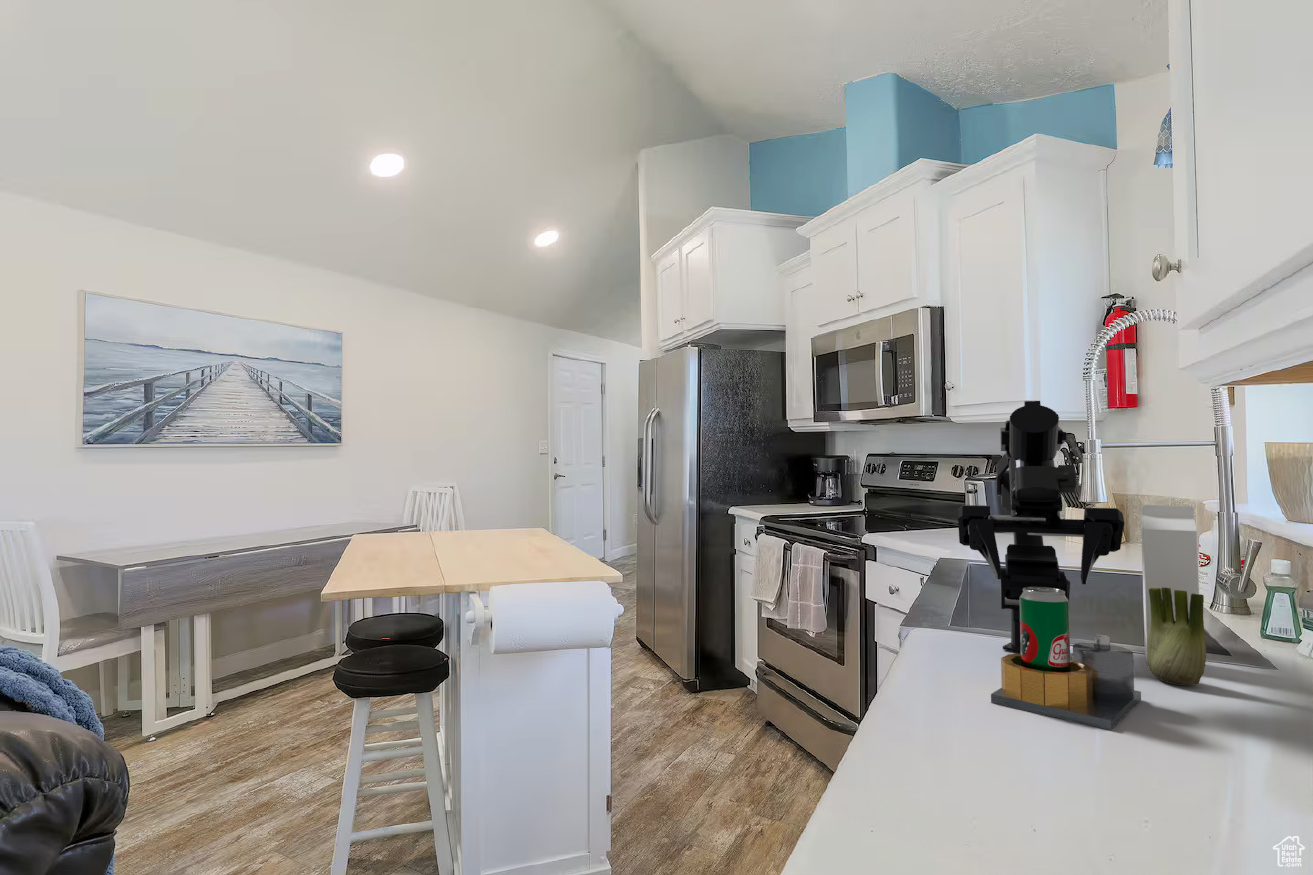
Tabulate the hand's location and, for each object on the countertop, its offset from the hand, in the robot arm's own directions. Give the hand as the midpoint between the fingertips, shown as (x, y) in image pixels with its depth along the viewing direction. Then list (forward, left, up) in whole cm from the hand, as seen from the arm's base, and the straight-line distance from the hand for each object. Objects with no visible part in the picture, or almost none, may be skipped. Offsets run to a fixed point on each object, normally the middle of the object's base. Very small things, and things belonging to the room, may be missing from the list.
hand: (1040, 579), depth 86 cm
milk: (-26, +9, -14) cm, 30 cm away
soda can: (+4, +2, -13) cm, 13 cm away
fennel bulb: (-16, +11, -14) cm, 23 cm away
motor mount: (+2, +3, -14) cm, 14 cm away
